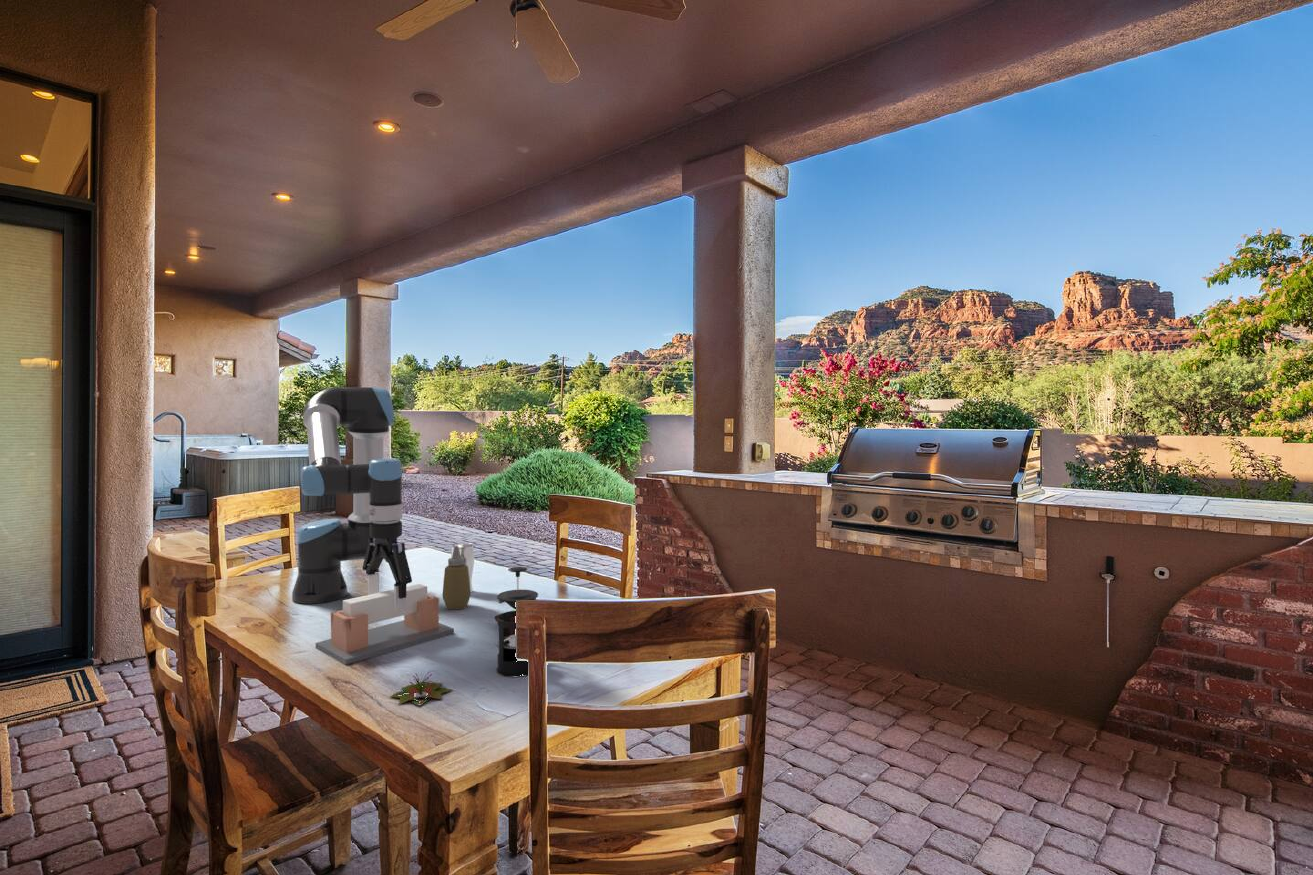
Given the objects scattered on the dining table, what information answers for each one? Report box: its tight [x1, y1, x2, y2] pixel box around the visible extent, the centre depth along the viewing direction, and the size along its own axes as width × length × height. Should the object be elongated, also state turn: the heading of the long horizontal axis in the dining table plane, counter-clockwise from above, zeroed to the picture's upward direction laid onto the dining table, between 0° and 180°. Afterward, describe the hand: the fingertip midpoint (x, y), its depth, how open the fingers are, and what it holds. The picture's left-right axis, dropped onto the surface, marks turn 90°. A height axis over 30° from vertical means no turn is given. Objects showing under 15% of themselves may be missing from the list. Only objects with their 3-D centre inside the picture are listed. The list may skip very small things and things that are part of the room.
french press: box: [496, 566, 539, 677], centre depth 148 cm, size 12×9×23 cm
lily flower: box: [387, 670, 452, 706], centre depth 134 cm, size 12×12×5 cm
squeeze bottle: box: [441, 546, 472, 610], centre depth 192 cm, size 8×8×18 cm
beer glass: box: [450, 542, 475, 594], centre depth 208 cm, size 7×7×15 cm
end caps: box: [314, 593, 455, 666], centre depth 165 cm, size 16×28×9 cm, turn 140°
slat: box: [342, 583, 428, 625], centre depth 164 cm, size 4×20×6 cm, turn 140°
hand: (386, 604), depth 165 cm, fingers open, 13 cm apart
